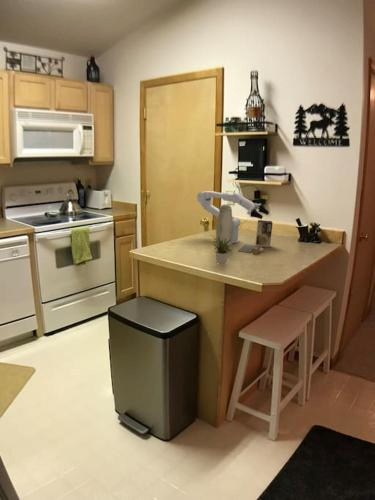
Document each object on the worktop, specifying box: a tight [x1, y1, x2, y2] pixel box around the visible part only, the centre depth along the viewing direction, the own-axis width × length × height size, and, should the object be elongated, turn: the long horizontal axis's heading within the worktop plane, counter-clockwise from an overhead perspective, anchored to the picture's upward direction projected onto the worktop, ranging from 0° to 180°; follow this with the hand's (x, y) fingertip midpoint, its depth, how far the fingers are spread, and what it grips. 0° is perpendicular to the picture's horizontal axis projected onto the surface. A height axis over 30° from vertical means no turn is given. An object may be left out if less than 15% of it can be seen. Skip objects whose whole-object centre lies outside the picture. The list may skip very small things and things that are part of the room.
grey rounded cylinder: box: [215, 204, 233, 249], centre depth 246 cm, size 10×10×28 cm
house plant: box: [210, 235, 234, 265], centre depth 218 cm, size 14×14×16 cm
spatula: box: [252, 245, 265, 255], centre depth 246 cm, size 14×5×4 cm, turn 159°
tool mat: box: [237, 243, 256, 254], centre depth 253 cm, size 8×19×1 cm, turn 159°
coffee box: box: [254, 219, 273, 248], centre depth 258 cm, size 9×6×16 cm
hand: (265, 215), depth 254 cm, fingers open, 7 cm apart
